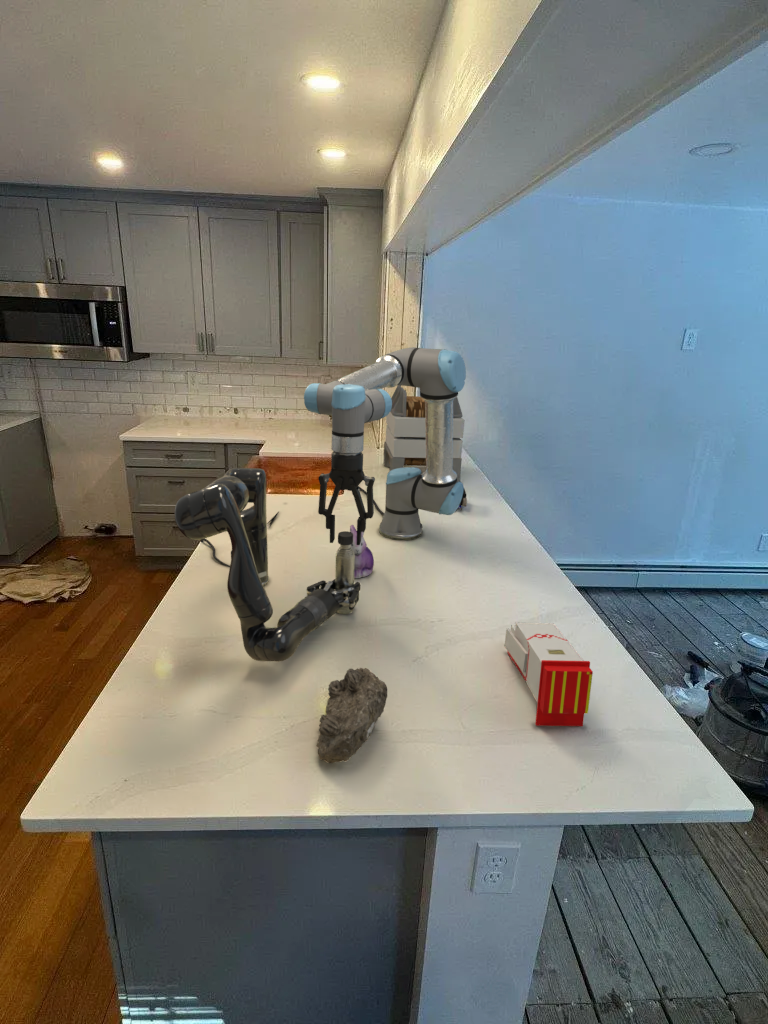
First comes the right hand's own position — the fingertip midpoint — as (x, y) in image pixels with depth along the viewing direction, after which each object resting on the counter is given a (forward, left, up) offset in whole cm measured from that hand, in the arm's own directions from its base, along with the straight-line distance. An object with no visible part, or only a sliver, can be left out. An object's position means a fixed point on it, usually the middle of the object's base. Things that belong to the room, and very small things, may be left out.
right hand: (345, 541), depth 142 cm
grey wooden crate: (-84, +108, -19) cm, 138 cm away
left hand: (-1, +2, -13) cm, 13 cm away
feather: (-71, +22, -19) cm, 77 cm away
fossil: (+36, -25, -19) cm, 48 cm away
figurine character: (-40, +87, -19) cm, 98 cm away
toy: (+50, +15, -19) cm, 56 cm away
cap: (0, 0, +2) cm, 2 cm away
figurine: (-15, +17, -19) cm, 30 cm away
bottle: (0, 0, -19) cm, 19 cm away
